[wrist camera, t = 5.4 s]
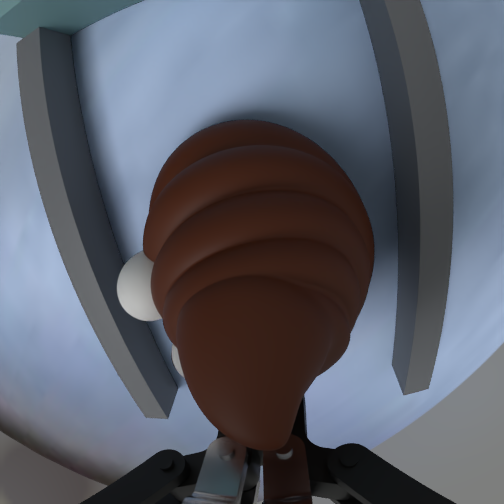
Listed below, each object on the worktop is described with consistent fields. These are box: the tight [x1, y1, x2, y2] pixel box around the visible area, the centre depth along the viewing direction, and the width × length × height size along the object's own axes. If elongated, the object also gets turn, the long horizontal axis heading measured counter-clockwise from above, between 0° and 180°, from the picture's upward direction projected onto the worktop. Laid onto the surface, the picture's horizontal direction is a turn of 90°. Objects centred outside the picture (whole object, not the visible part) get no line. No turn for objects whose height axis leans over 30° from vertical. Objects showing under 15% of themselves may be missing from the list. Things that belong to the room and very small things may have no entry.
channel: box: [0, 0, 453, 419], centre depth 10 cm, size 22×16×5 cm
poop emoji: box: [117, 120, 374, 451], centre depth 9 cm, size 10×9×9 cm
